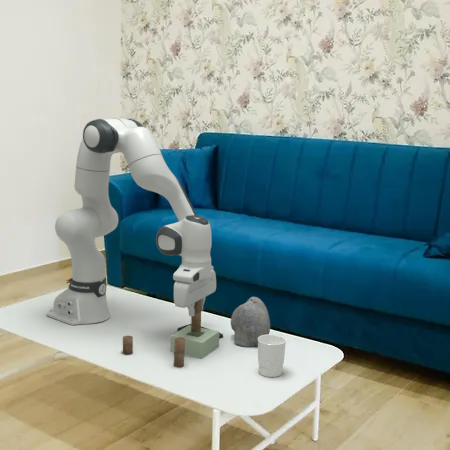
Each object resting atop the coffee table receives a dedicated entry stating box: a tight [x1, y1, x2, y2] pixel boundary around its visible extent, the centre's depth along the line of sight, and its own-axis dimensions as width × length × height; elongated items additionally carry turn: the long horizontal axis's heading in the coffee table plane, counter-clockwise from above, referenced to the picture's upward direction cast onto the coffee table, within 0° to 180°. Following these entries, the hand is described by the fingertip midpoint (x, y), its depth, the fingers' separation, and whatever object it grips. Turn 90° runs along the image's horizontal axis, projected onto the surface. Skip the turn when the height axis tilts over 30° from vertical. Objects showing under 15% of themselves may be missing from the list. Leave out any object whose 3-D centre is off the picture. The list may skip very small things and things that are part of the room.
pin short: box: [122, 335, 134, 356], centre depth 189 cm, size 3×3×5 cm
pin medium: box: [173, 337, 185, 368], centre depth 181 cm, size 3×3×8 cm
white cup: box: [257, 333, 287, 378], centre depth 177 cm, size 8×8×10 cm
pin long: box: [190, 299, 202, 333], centre depth 191 cm, size 3×3×12 cm
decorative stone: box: [230, 296, 271, 348], centre depth 199 cm, size 15×10×15 cm
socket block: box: [170, 324, 220, 359], centre depth 193 cm, size 11×11×5 cm
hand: (195, 313), depth 192 cm, fingers closed on pin long, 3 cm apart
